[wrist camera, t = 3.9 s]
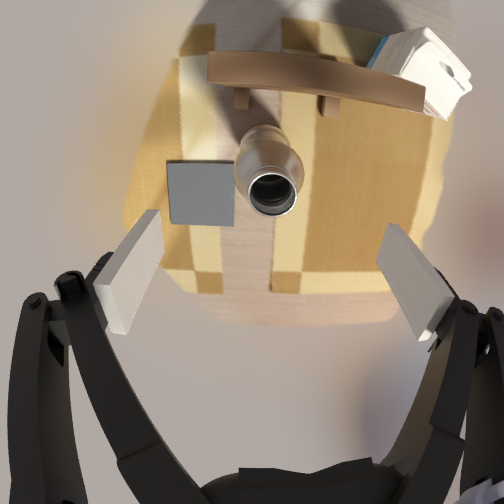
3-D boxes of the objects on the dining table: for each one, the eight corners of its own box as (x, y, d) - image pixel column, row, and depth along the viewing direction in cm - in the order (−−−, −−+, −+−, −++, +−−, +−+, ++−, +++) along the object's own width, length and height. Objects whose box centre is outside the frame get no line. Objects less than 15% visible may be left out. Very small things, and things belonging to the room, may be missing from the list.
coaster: (167, 162, 38) (166, 163, 38) (235, 163, 38) (235, 164, 38) (172, 222, 44) (171, 224, 43) (233, 225, 44) (233, 226, 43)
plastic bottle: (272, 174, 39) (285, 248, 22) (232, 151, 37) (210, 208, 20) (297, 139, 36) (335, 185, 19) (256, 113, 34) (256, 134, 17)
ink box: (358, 76, 30) (403, 73, 19) (382, 36, 26) (433, 22, 15) (403, 110, 32) (456, 125, 21) (425, 71, 28) (482, 75, 17)
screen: (236, 54, 30) (211, 8, 11) (339, 65, 30) (428, 48, 11) (233, 108, 34) (205, 128, 15) (334, 117, 34) (415, 154, 16)
